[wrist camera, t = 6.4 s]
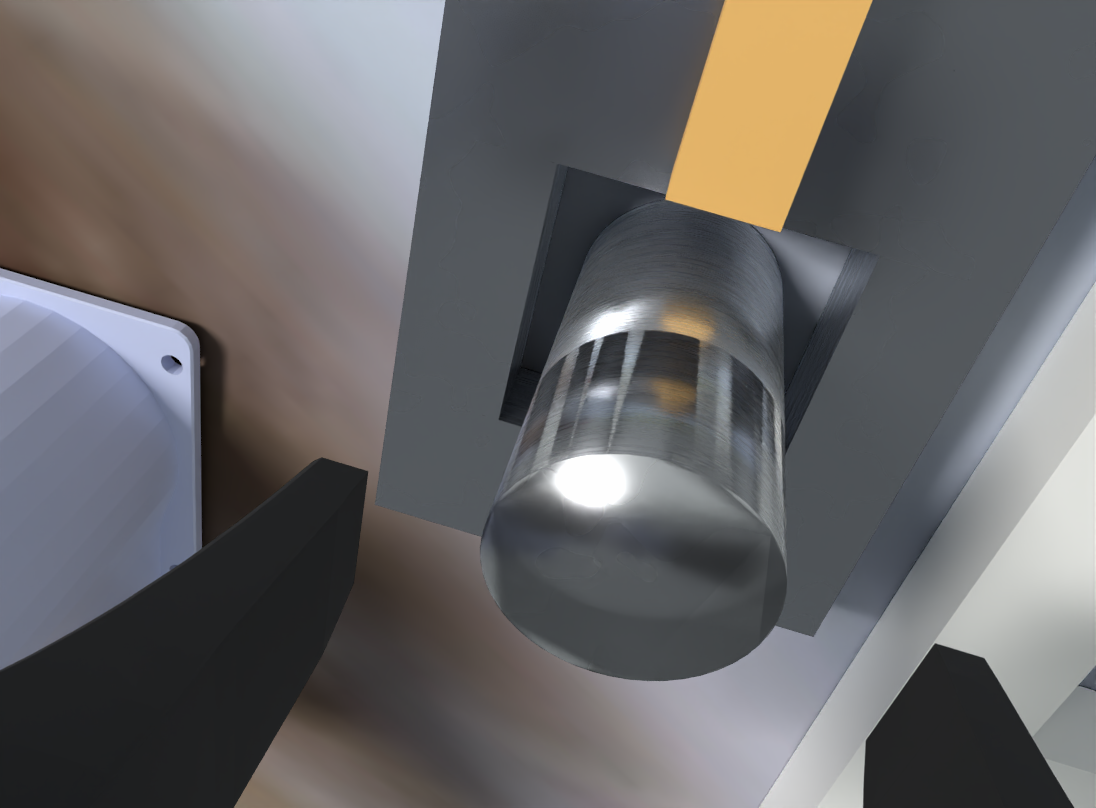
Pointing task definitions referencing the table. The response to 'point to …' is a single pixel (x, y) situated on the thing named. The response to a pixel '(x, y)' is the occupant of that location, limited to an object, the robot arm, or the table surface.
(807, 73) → the bar
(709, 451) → the brushed steel cylinder
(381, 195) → the table surface
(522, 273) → the dark grey socket tray
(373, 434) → the table surface
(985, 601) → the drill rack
